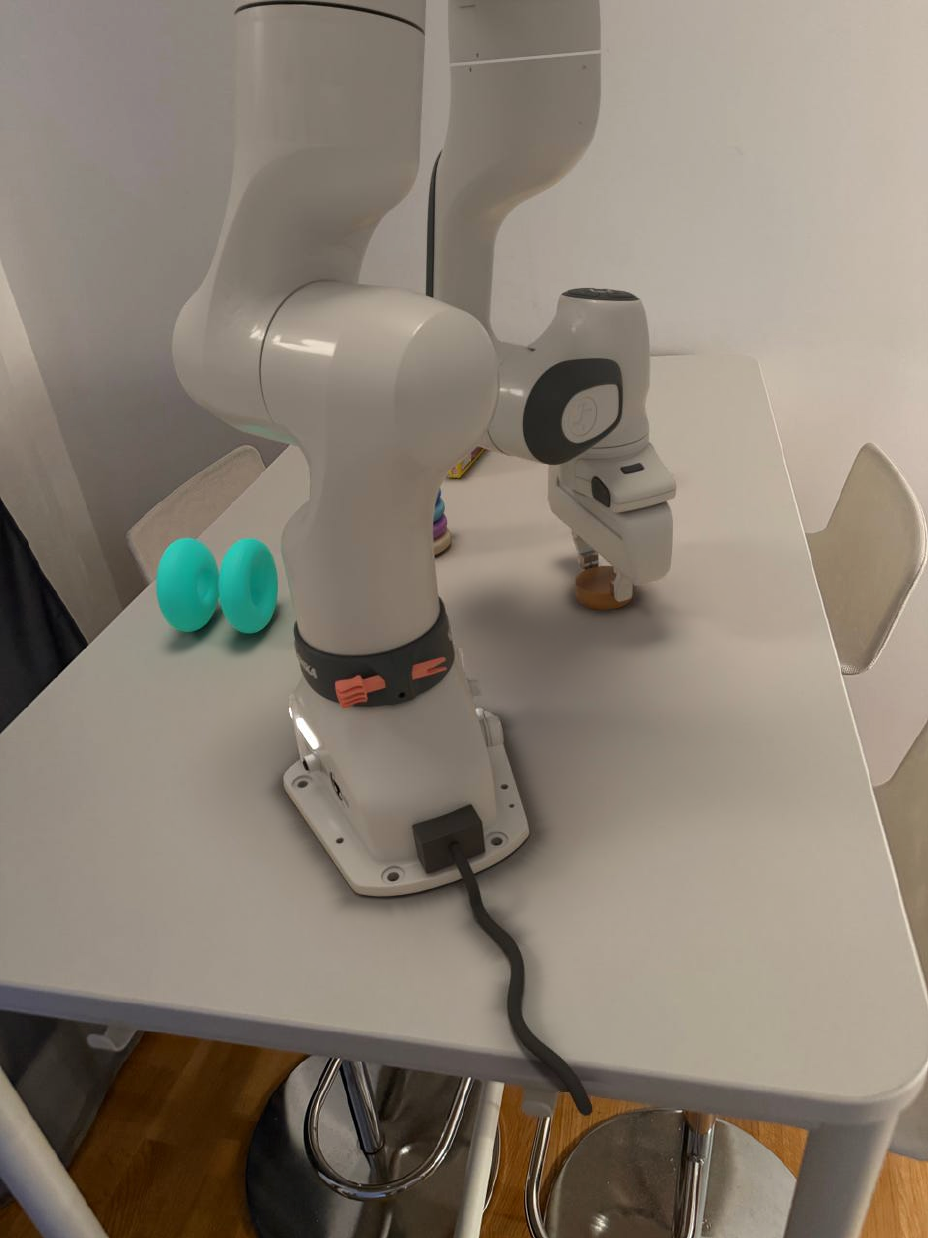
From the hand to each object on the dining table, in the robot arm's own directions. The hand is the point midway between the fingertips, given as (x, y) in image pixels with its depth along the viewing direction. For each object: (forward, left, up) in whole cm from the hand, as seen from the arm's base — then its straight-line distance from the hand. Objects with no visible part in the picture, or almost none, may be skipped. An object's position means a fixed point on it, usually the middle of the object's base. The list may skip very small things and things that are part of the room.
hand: (604, 582), depth 97 cm
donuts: (+14, +38, -2) cm, 41 cm away
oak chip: (0, 0, -2) cm, 2 cm away
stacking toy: (+21, +14, -2) cm, 25 cm away
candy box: (+44, -2, -2) cm, 44 cm away
